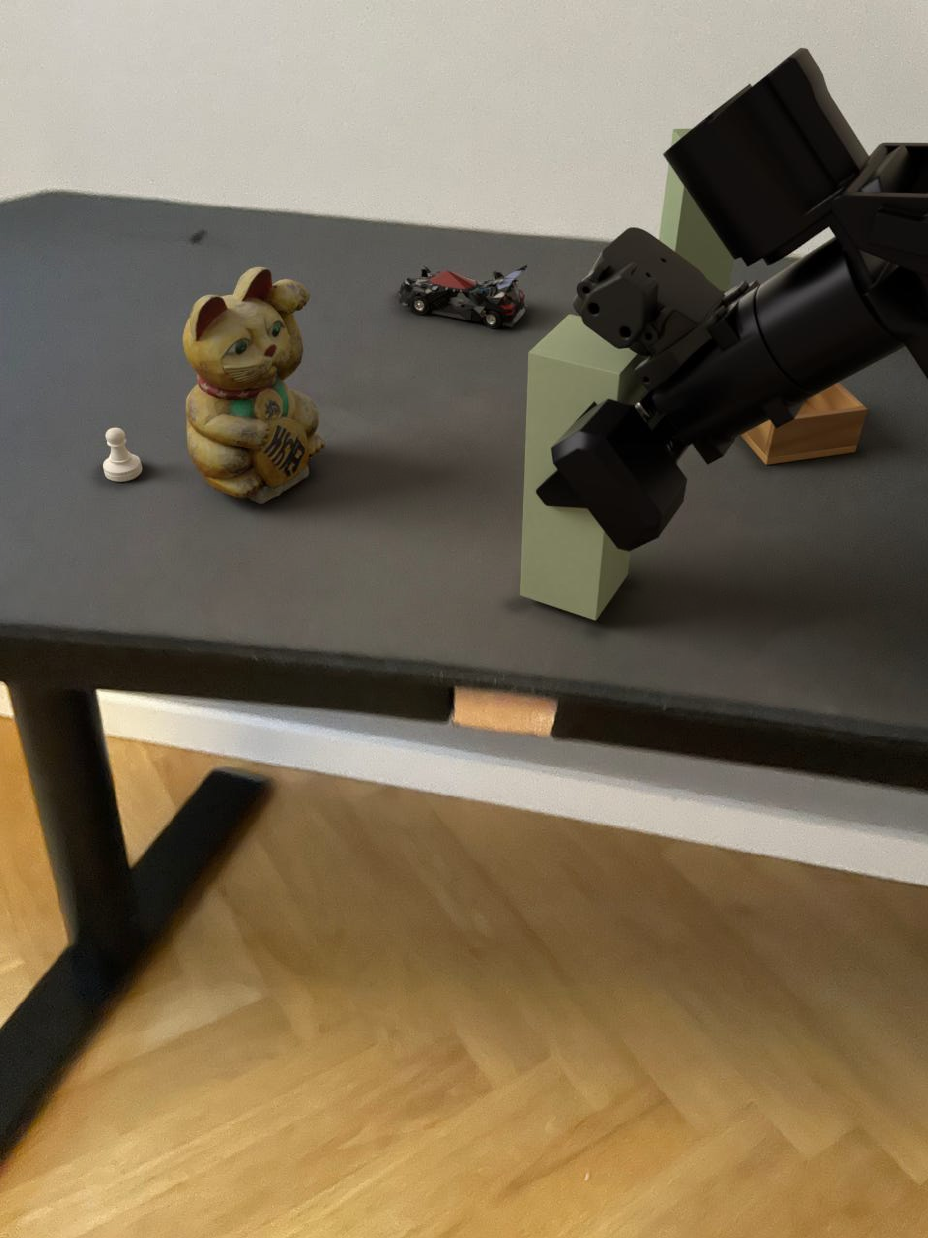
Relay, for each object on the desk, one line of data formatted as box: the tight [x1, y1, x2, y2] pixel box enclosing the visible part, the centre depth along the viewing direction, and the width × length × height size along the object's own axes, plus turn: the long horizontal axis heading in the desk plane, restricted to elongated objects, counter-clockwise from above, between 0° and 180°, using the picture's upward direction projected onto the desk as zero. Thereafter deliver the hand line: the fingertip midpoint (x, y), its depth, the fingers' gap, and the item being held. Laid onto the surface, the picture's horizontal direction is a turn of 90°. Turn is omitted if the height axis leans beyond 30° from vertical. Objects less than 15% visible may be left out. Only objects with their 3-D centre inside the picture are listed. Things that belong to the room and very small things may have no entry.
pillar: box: [658, 128, 735, 292], centre depth 88 cm, size 5×5×16 cm
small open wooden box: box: [739, 382, 868, 466], centre depth 79 cm, size 7×7×4 cm
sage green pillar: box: [519, 314, 651, 621], centre depth 60 cm, size 5×5×16 cm
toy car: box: [396, 264, 529, 329], centre depth 94 cm, size 6×12×4 cm, turn 68°
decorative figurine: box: [181, 266, 326, 505], centre depth 70 cm, size 10×8×15 cm
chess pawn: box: [102, 427, 143, 483], centre depth 74 cm, size 3×3×4 cm
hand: (561, 474), depth 61 cm, fingers closed on sage green pillar, 5 cm apart
